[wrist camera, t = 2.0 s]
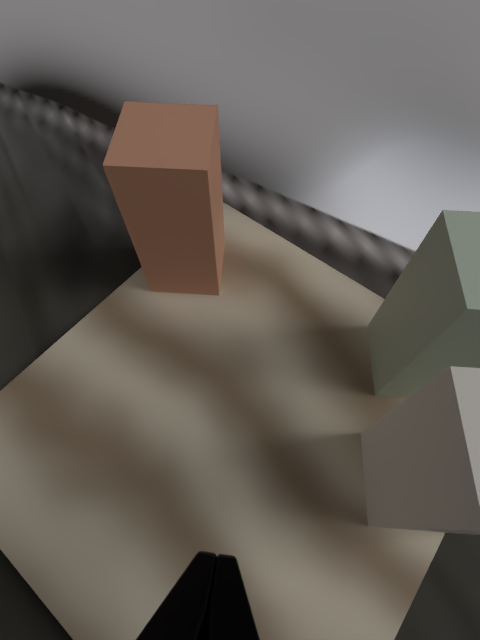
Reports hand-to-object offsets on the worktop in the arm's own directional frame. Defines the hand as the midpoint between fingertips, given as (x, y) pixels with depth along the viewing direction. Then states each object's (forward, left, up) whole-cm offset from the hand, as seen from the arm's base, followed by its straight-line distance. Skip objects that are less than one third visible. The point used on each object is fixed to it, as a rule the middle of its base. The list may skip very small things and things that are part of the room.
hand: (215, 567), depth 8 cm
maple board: (+5, +4, -12) cm, 14 cm away
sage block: (+14, -2, -11) cm, 18 cm away
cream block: (+8, -5, -11) cm, 15 cm away
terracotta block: (+11, +13, -11) cm, 20 cm away
